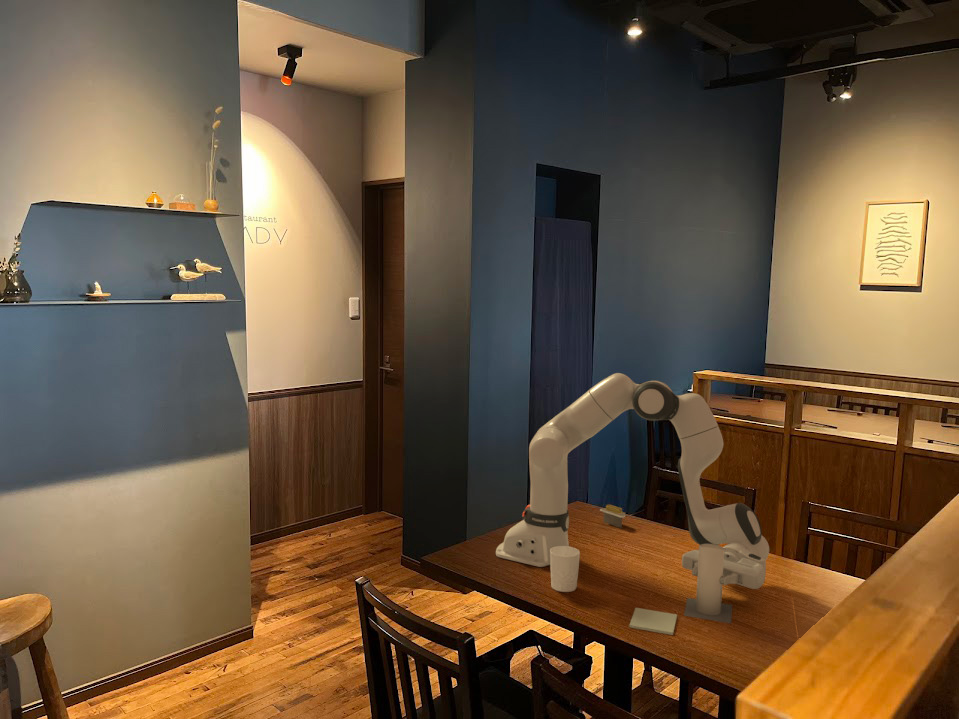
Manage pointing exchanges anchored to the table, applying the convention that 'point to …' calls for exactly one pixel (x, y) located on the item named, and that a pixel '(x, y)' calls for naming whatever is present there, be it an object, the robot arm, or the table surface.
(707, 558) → the ceramic canister
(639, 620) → the coaster pad
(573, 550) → the white cup
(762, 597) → the table surface
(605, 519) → the platform
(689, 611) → the mat
